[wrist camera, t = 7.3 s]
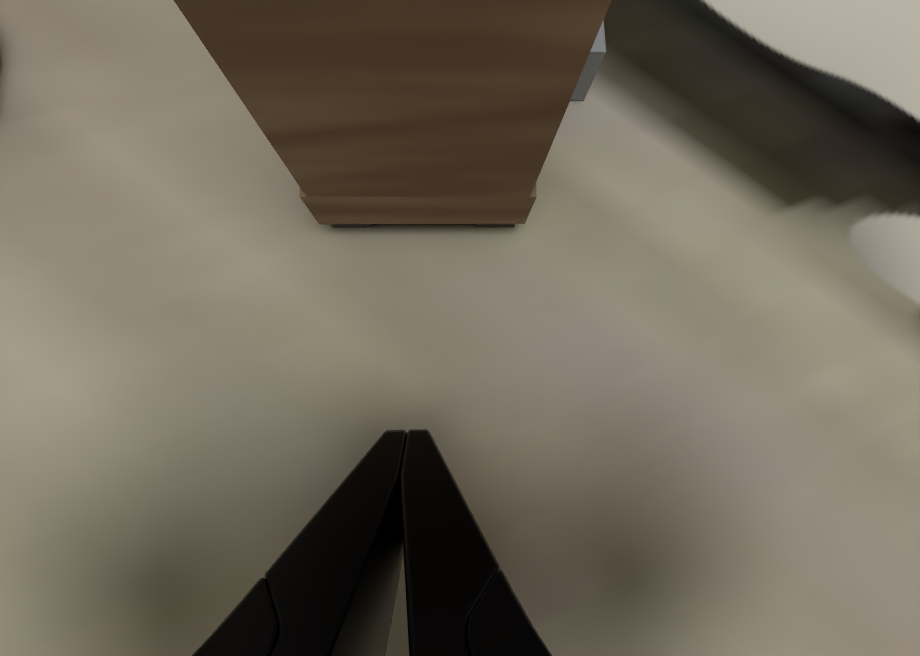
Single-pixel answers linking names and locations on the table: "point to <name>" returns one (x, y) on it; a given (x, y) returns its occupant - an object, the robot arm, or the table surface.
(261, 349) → the table surface
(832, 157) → the table surface
